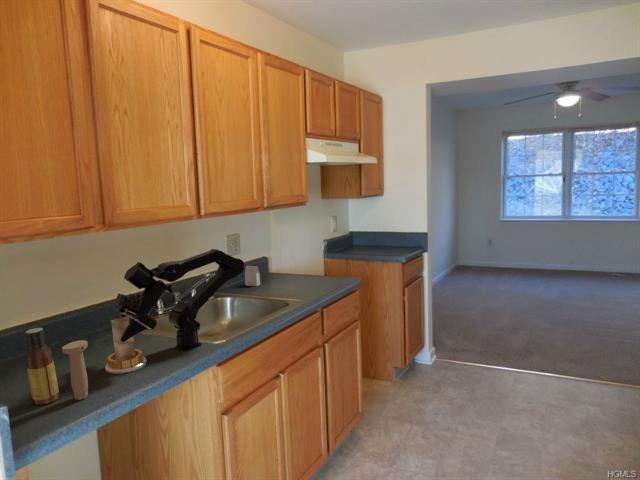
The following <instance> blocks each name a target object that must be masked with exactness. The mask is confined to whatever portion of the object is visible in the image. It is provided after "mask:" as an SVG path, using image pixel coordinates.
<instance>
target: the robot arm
mask: <svg viewBox="0 0 640 480" xmlns="http://www.w3.org/2000/svg"><path fill="white" fill-rule="evenodd" d="M213 263H215V264H217V266H218V267H217V270H216V272H215V274H214V275H213V276H212V277H210V279H209V280H207V281H206V283H205V284H203V286H201V288H199V290H197V291H196V292H195V294H193V296H191V298H189V299H188V300H187V301H182V300H179V301H178V302H176V304H175V305H174V306H173V307H171V308H170V312H168V321H169V323H170V324H171V325H173V326H174V329H177V330H176V336H175V338H176V345H175V346H174V347H175V348H176V349H180V350H184V351H190V350H192V349H194V348H197V347H200V346H201V345H202V342H200V341H199V336H198V335H199V334H198V331H199V330H200V327H201V323H200V322H199V321H197V320H196V319H197V316H198V313H199V311H200V309H201V308H202V307H203V306H204V305H205V304H206V303H207V302H208V301H209V300H210V299H211V298H212V297H213V296H214V295H215V294H216V293H217V292H218V291H219V290H220V289H221V288H222V287H223V285H225V284H226V283H227V282H229V281H231V280H234V279H235V278H237V277H238V276H240V275H241V274H243V272H244V271H245V262H244V261H243V260H242V259H240V258H238V257H234V256H231V255H229V254H227V253H225V252H224V251H222V250H221V249H217V248H212V249H210V250H208V251H205V252H201V253H199V254H197V255H193V256H190V257H188V258H185V259H183V260H171V261H165V262H161V263H160V264H158V265H157V267H154V268H151V269H149V268H148V267H146V266H145V265H144V264H143V263H142V262H140V261H138V262H136V264H134V265H132V266H131V267H130V268H128V269H127V271H126V272H125V274H124V276H123V278H124V280H125V281H127V282H128V283H129V284H131V285H132V286H134V287H135V288H137V289H138V290H141V289H143V290H142V292H141V293H136V294H131V293H129V294H128V295H127V294H123V293H119V292H118V293H117V295H116V299H115V301H114V304H117V306H116V307H115V310H116V311H118V315H119V318H122V317H127V318H129V326H128V327H127V329H126V331H125V333H124V334H123V336H122V338H121V341H122V342H124V341H126V340H128V339H129V338H131V337H133V338H134V336H136V335H138V334H140V333H141V332H143V331H145V330H148V328H149V329H151V330H155V328H156V326H157V325H158V321H157V319H155V318H153V317H152V316H150V313H151V311H152V310H153V309H154V308H155V309H156V308H158V306H159V305H158V304H157V303H158V302H159V300H161V298H162V297H163V295H164V294H165V292H167V293H170V294H172V293H173V289H172V284H171V283H173V282H176V281H177V280H180V279H181V278H183V277H184V276H185V275H186V274H187V273H189V272H192V271H195V270H197V269H200V268H201V267H205V266H208V265H210V264H213ZM155 278H156V279H157V280H156V279H155ZM164 281H166V282H169V283H165V282H164Z"/></svg>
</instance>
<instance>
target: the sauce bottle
mask: <svg viewBox="0 0 640 480" xmlns="http://www.w3.org/2000/svg"><path fill="white" fill-rule="evenodd" d="M24 333H25V338H26V340H27V347H28V349H27V353H26V355H25V366H26V370H27V376H28V383H29V386H30V392H31V397H32V399H33V403H34V404H35V405H40V406H43V405H46V404H51V403H53V402H55V401H57V400H58V399H59V397H60V393H59V390H60V389H59V386H58V378H57V373H56V368H55V361H54V359H53V354H52V350H51V349H50V347H49V346H47V345H46V342H45V336H44V333H45V332H44V328H43V327H36V328H30V329H28V330H26V331H25V332H24Z"/></svg>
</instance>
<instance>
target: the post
mask: <svg viewBox="0 0 640 480" xmlns="http://www.w3.org/2000/svg"><path fill="white" fill-rule="evenodd" d="M110 322H111V324H110V325H111V328H112V329H111V331H112V338H113V339H112V340H113V346H114V347H113V348H114V353H115V358H116V360H126V359H130V358H133V357H135V349H136V347H135V341H134V336H133V337H131V338H129V339H128V340H126V341H124V342H122V341H121V338H122V336H123V334H124V333H125V331H126V329H127V327H128V326H129V318H127V317H122V318H120V317H119V318H114V319H111V321H110Z"/></svg>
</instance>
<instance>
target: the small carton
mask: <svg viewBox="0 0 640 480" xmlns="http://www.w3.org/2000/svg"><path fill="white" fill-rule="evenodd" d="M244 271H245V272H244V281H245V286H246V287H247V286H248V287H258V286H261V274H260V270H259V267H258V265H257V266H256V265H255V266H253V265H246V266H245V269H244Z"/></svg>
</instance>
